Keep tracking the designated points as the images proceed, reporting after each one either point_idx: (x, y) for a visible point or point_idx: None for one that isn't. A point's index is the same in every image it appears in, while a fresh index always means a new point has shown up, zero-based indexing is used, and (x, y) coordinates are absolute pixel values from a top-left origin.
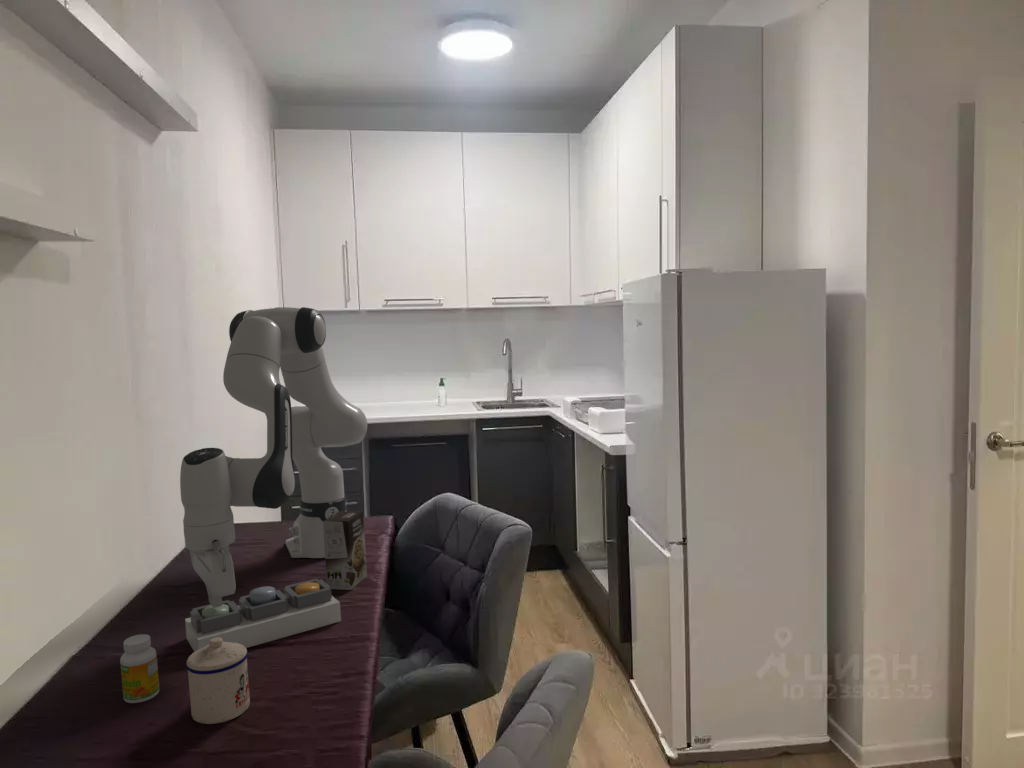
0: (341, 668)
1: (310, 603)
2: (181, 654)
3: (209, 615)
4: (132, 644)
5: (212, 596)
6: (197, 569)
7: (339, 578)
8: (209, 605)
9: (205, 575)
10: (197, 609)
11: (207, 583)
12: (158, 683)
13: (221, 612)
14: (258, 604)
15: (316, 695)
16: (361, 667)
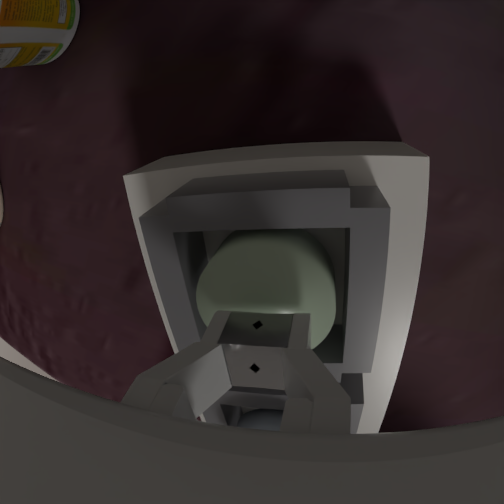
0: (61, 364)
1: None
2: (256, 101)
3: (206, 267)
4: None
5: (174, 358)
6: (494, 476)
7: None
8: (367, 297)
9: (57, 473)
10: (352, 232)
11: (41, 410)
12: (28, 65)
13: (204, 319)
14: (242, 417)
15: (6, 309)
16: (62, 378)
